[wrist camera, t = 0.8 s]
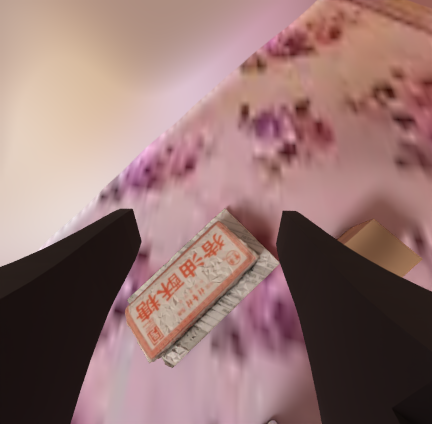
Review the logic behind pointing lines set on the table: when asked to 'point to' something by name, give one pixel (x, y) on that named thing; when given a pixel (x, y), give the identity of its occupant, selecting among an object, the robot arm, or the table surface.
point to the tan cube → (380, 247)
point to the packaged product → (197, 289)
